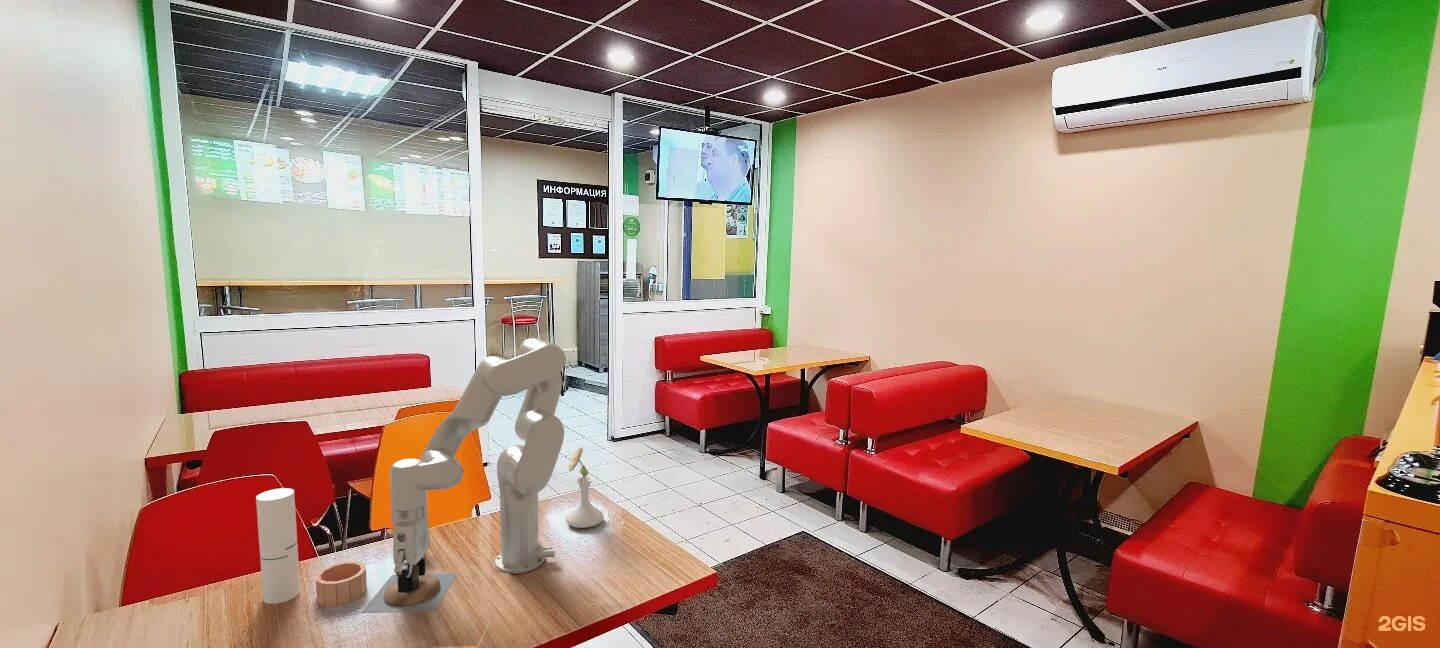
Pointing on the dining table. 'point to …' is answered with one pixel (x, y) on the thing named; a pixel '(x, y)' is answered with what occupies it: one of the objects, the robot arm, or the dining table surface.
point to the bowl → (341, 583)
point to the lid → (421, 591)
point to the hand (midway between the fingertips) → (412, 582)
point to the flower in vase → (583, 499)
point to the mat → (429, 605)
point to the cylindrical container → (278, 545)
